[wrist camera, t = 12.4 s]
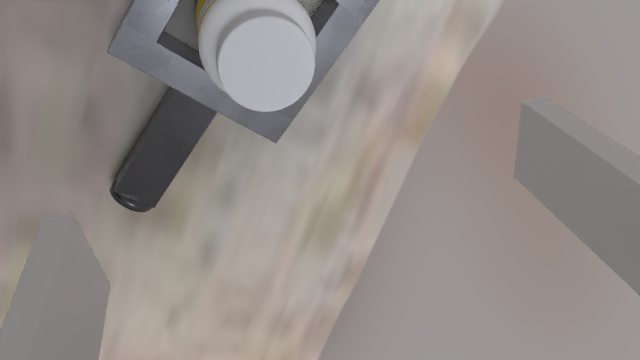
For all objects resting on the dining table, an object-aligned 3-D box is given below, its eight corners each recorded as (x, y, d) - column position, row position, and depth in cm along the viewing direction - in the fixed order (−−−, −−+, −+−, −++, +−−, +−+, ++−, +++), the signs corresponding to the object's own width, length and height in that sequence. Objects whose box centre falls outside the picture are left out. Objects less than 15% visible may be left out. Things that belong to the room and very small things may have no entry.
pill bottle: (288, 56, 35) (325, 125, 26) (196, 56, 33) (203, 130, 24) (292, -39, 32) (337, 1, 23) (191, -44, 30) (196, -3, 21)
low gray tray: (210, -144, 28) (213, -144, 25) (366, -17, 34) (383, -6, 31) (51, 150, 35) (40, 175, 32) (203, 214, 41) (205, 240, 38)
